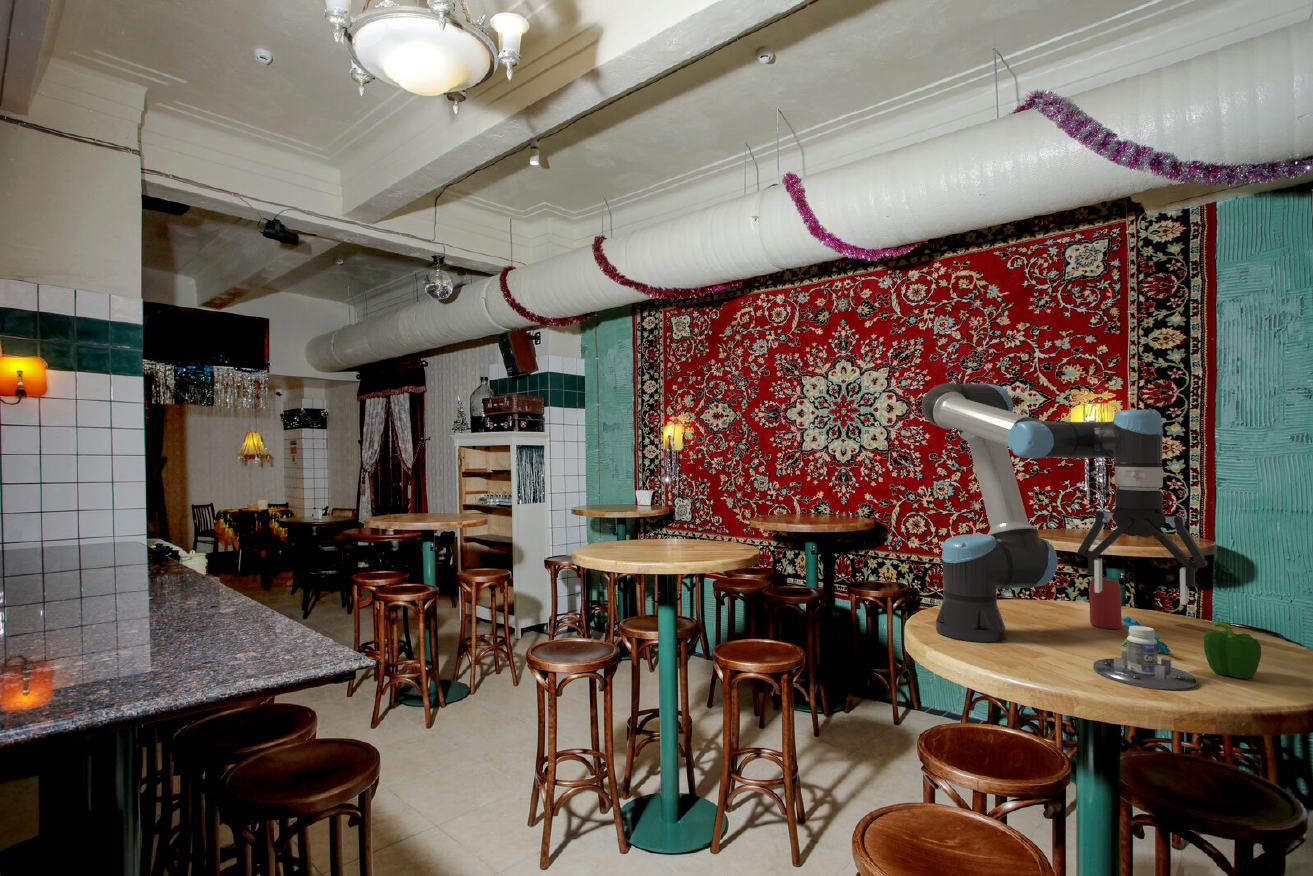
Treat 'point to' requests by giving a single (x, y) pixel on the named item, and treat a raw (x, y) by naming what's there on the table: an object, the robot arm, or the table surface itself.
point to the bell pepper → (1232, 652)
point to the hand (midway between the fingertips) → (1139, 597)
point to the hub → (1161, 679)
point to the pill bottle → (1142, 650)
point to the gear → (1160, 645)
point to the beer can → (1106, 604)
